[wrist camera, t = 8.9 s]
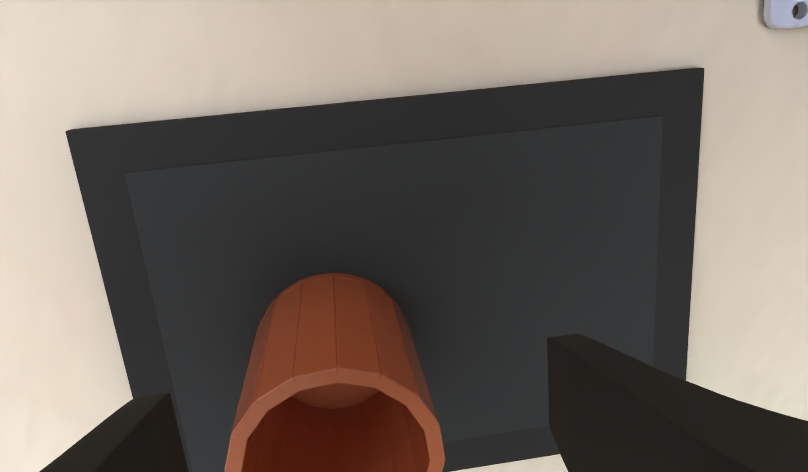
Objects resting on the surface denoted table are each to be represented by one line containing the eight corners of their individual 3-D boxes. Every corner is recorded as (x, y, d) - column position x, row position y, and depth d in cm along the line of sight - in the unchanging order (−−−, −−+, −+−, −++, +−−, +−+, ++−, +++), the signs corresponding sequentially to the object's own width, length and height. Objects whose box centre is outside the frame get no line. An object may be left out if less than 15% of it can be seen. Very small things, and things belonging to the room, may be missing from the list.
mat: (697, 67, 20) (705, 67, 19) (677, 428, 24) (683, 435, 24) (70, 129, 18) (64, 131, 18) (165, 510, 22) (162, 519, 22)
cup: (395, 258, 20) (426, 348, 14) (419, 392, 22) (457, 527, 15) (239, 289, 20) (200, 396, 13) (275, 423, 21) (255, 574, 15)
